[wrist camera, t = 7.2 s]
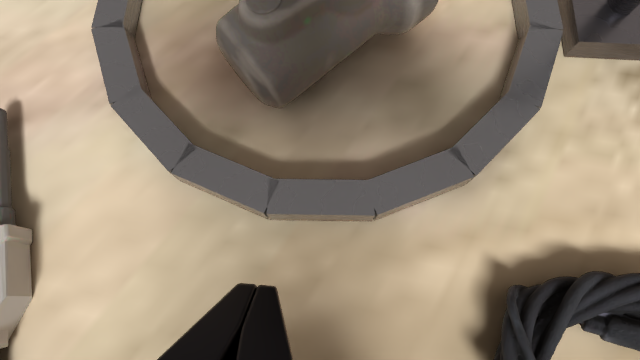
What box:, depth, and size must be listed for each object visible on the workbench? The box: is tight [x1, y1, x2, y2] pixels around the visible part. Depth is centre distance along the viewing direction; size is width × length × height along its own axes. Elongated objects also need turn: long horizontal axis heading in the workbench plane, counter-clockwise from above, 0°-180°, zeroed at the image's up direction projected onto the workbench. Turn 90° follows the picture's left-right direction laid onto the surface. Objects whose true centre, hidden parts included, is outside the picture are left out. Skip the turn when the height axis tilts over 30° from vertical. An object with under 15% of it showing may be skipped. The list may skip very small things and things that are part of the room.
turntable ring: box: [91, 0, 563, 221], centre depth 25 cm, size 30×30×2 cm
